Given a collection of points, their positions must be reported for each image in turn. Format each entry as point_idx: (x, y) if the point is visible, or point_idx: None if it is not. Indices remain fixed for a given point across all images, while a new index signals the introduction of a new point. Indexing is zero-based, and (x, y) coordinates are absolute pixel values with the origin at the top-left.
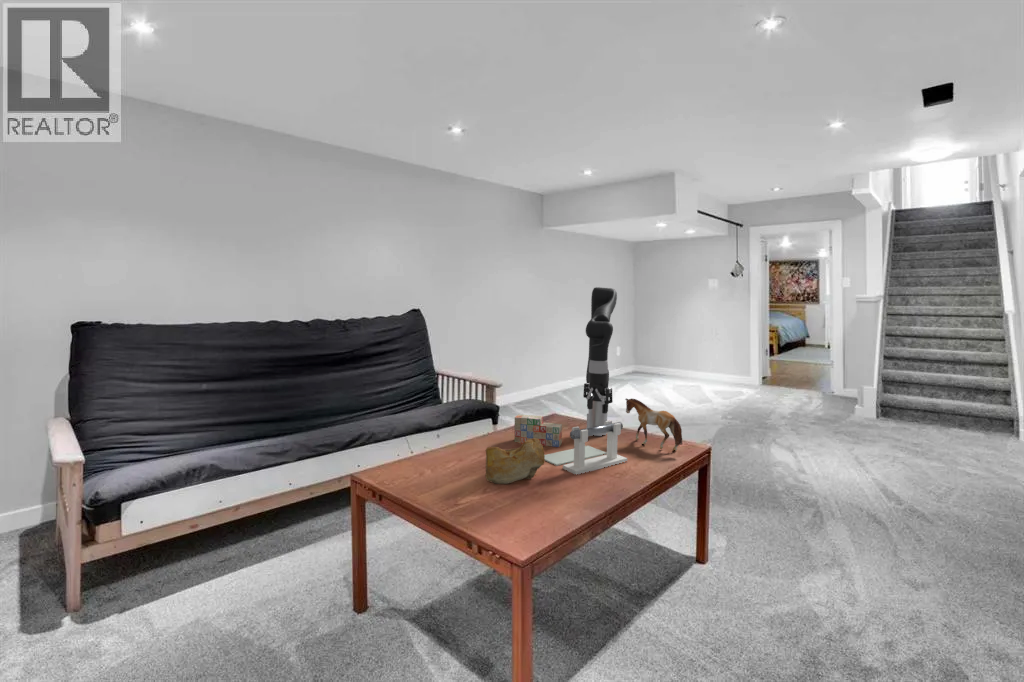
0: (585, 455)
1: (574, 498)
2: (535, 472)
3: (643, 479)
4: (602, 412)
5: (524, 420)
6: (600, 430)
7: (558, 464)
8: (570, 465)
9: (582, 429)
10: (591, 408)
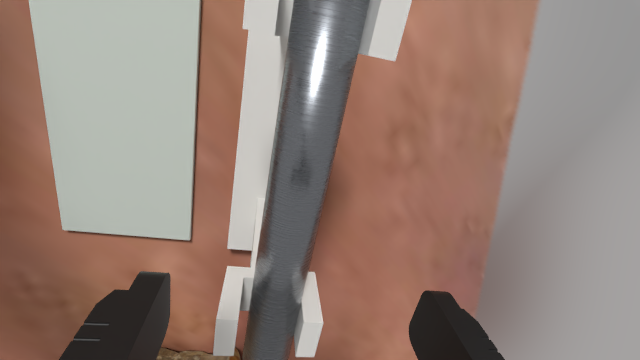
0: (170, 65)
1: (394, 341)
2: (239, 358)
3: (493, 115)
4: (414, 340)
5: None
6: (325, 193)
7: (190, 231)
8: (248, 232)
9: (277, 323)
10: (168, 290)
